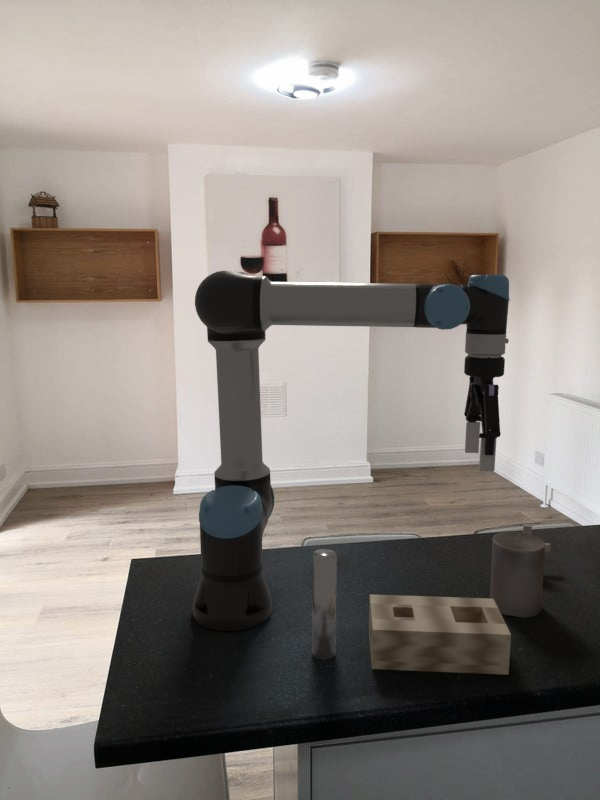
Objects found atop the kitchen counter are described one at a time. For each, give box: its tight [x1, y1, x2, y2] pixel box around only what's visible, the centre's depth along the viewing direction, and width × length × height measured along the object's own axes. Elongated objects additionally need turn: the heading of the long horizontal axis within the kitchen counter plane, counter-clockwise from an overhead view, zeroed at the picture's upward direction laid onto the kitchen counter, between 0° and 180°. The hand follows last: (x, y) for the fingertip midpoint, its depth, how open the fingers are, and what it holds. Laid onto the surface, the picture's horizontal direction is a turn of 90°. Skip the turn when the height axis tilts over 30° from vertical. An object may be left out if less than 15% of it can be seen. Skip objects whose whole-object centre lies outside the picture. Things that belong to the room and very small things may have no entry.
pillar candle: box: [489, 530, 545, 619], centre depth 122 cm, size 10×10×15 cm
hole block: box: [368, 594, 512, 676], centre depth 108 cm, size 22×12×7 cm, turn 86°
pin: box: [311, 548, 338, 661], centre depth 106 cm, size 4×4×18 cm
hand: (478, 461), depth 126 cm, fingers open, 13 cm apart
